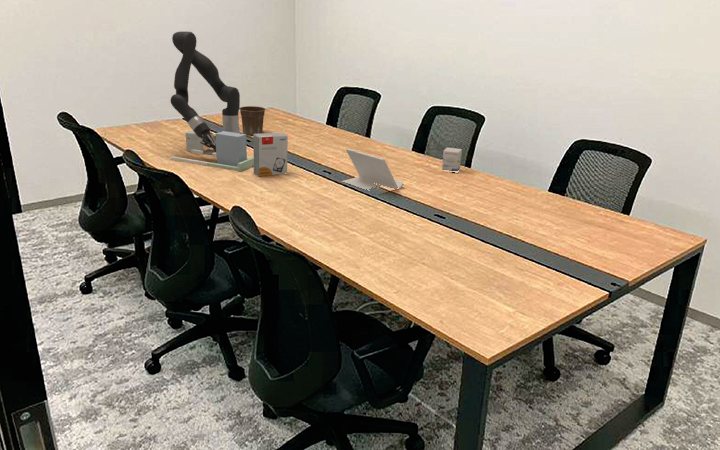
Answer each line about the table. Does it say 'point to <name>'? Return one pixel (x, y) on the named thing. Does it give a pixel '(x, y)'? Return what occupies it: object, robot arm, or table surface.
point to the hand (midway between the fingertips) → (219, 152)
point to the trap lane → (241, 165)
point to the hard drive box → (270, 153)
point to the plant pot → (252, 119)
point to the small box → (193, 141)
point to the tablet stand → (371, 171)
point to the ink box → (451, 159)
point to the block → (230, 148)
